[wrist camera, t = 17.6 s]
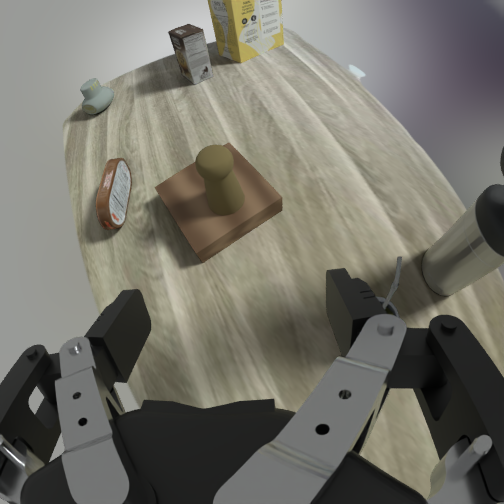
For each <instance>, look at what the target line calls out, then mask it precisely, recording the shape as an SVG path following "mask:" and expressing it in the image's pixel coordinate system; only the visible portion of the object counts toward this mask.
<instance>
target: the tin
mask: <svg viewBox="0 0 504 504" xmlns="http://www.w3.org/2000/svg"><path fill="white" fill-rule="evenodd" d="M131 185H132V179H131V172H130V169H129V167H128V165H127V163H126V161H125V160H124V159H123V158H117V159H110V160H108V162H107V163H106V165H105V169H104V172H103V175H102V179H101V183H100V186H99V190H98V194H97V198H96V212H97V217H98V220H99V222H100V224H101V226H102V227H103V228H104V229H106V230H111V229H117V228H120V227H121V226H122V225H123V224H124V222H125V219H126V213H127V207H128V202H129V197H130V191H131Z"/></svg>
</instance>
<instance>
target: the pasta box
mask: <svg viewBox="0 0 504 504" xmlns="http://www.w3.org/2000/svg"><path fill="white" fill-rule="evenodd" d="M208 4H209V8H210V13H211V18H212V23H213V27H214V32H215V37H216V42H217V46H218V51H219V55H220V56H223V57H226V58H229V59H232V60H234V61H237V62H240V63H243V62H245V61H247V60H249V59H251V58H253V57H255V56H258V55H260V54H262V53H264V52H267V51H269V50H271V49H274V48H276V47H278V46H281V45H283V44H284V40H283V22H282V5H281V0H208Z"/></svg>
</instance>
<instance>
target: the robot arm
mask: <svg viewBox="0 0 504 504" xmlns="http://www.w3.org/2000/svg"><path fill="white" fill-rule="evenodd" d="M500 164H501V171H502V173H503V176H504V147H503V150H502V154H501V162H500ZM502 264H504V185H500V184H495V185H491V186H489V187H488V188H487V189H486V190H484V192H483V193H482V194H481V195H480V196H479V197H478V198H477V200H476V201H475V202H474V203H473V204H472V205H471V206H470V207H469V209H468V210H467V211H466V212H465V213H464V214H463V215H462V216H461V217H460V218H459V219H458V220H457V221H456V223H455V224H454V225H453V226H452V227H451V228H450V229H449V230H448V231H447V232H446V233H445V234H444V235H443V236H442V237H441V238H440V239H439V240H438V241H437V242H436V243H435V244H434V245H433V246H432V247H430V248H429V249H428V250H427V252H426V253H425V255H424V257H423V260H422V272H423V276H424V278H425V281H426V282H427V284H428V286H429V287H430V288H431V289H432V290H433V291H434V292H436V293H438V294H440V295H444V296H448V295H452V294H454V293H456V292H458V291H459V290H461V289H463V288H465V287H467V286H468V285H470V284H472V283H474V282H475V281H477V280H479V279H480V278H482V277H484V276H485V275H487V274H488V273H490V272H492V271H493V270H495V269H496V268H498V267H499V266H501V265H502ZM326 308H327V314H328V318H329V321H330V324H331V326H332V329H333V332H334V335H335V337H336V340H337V343H338V346H339V349H340V352H341V355H342V356H338V357H337V358H336V359H335V361H334V362H333V363H332V365H331V366H330V368H329V369H328V371H327V372H326V374H325V375H324V376H323V378H322V379H321V381H320V382H319V383H318V385H317V386H316V388H315V389H314V390H313V392H312V393H311V394H310V396H309V397H308V398H307V400H306V401H305V402H304V404H303V405H302V406H301V407H300V409H299V410H298V411H297V413H295V412H292V411H289V410H284V409H277V408H275V402H274V399H265V400H251V401H238V402H234V403H230V404H225V405H221V406H216V407H211V408H206V409H202V408H197V407H193V406H189V405H184V404H180V403H177V402H173V401H154V400H144V401H143V404H142V406H141V409H137V410H134V411H130V412H125V410H124V407H123V405H122V403H121V400H120V398H119V395H118V393H117V391H116V389H115V387H114V383H115V382H122V383H127V381H128V379H129V376H130V374H131V372H132V370H133V368H134V365H135V363H136V361H137V359H138V357H139V355H140V352H141V350H142V348H143V346H144V344H145V342H146V340H147V338H148V336H149V334H150V331H151V320H150V316H149V314H148V311H147V308H146V305H145V302H144V299H143V296H142V293H141V291H140V290H139V289H133V290H123V291H122V292H121V293H120V294H119V295H118V297H117V298H116V299H115V301H114V302H113V303H111V304H110V305H109V306H107V307H106V308H105V309H104V311H103V312H102V313H101V316H99V317H98V319H97V321H95V322H94V324H93V325H92V326H91V328H90V329H89V331H88V332H87V333H86V335H85V336H84V337H76V338H73V339H71V340H69V341H67V342H66V343H65V344H64V345H63V346H62V347H61V349H60V351H59V353H55V354H48V352H47V350H46V349H45V347H44V346H43V345H34V346H32V347H30V348H28V349H27V350H25V351H24V352H23V354H22V355H21V356H20V357H19V359H18V360H17V362H16V363H15V364H14V366H13V367H12V368H11V370H10V371H9V373H8V374H7V375H6V377H5V378H4V380H3V381H2V383H1V384H0V498H1V499H3V500H5V501H7V502H8V503H10V504H504V378H503V376H502V374H501V373H500V371H499V370H498V369H497V367H496V366H495V364H494V363H493V361H492V360H491V358H490V357H489V356H488V354H487V353H486V351H485V350H484V349H483V347H482V346H481V345H480V343H479V342H478V341H477V339H476V338H475V337H474V335H473V334H472V333H471V331H470V330H469V329H468V327H467V326H466V325H465V324H464V323H463V321H461V320H460V319H458V318H457V317H454V316H451V315H439V316H436V317H434V318H433V319H432V320H431V321H430V324H429V328H407V327H406V324H405V322H404V321H403V320H402V319H400V318H399V317H397V316H394V315H390V314H387V312H386V311H385V309H384V308H383V306H382V305H381V303H380V302H379V300H378V299H377V297H375V294H374V293H373V291H372V290H371V289H370V287H369V286H368V284H367V283H366V282H364V281H362V280H361V279H359V278H354V279H351V277H350V275H349V274H348V272H347V271H346V269H345V268H340V269H332V270H327V272H326ZM36 386H37V387H38V389H39V390H40V391H41V393H42V394H43V396H44V399H43V401H42V403H41V404H40V406H39V408H38V410H37V412H36V414H34V413H33V412H32V411H31V409H30V408H29V404H28V401H29V397H30V395H31V394H32V392H33V390H34V388H35V387H36ZM391 388H413V390H414V392H415V395H416V397H417V399H418V402H419V404H420V407H421V409H422V412H423V415H424V417H425V420H426V422H427V425H428V428H429V430H430V433H431V436H432V439H433V442H434V444H435V447H436V450H437V453H438V456H439V459H440V461H439V463H438V464H437V465H436V466H435V467H434V469H433V471H432V473H431V478H430V482H431V491H430V494H429V497H428V499H427V500H426V499H425V498H424V497H423V496H422V495H421V494H420V493H418V492H417V491H415V490H414V489H412V488H410V487H409V486H407V485H405V484H404V483H402V482H400V481H399V480H397V479H395V478H394V477H392V476H391V475H389V474H388V473H386V472H384V471H383V470H381V469H380V468H378V467H377V466H375V465H374V464H372V463H371V462H369V461H368V460H366V459H365V458H363V457H362V456H360V454H361V452H362V450H363V448H364V446H365V444H366V442H367V440H368V438H369V436H370V434H371V431H372V429H373V427H374V425H375V423H376V421H377V419H378V417H379V414H380V412H381V410H382V408H383V406H384V404H385V401H386V399H387V397H388V395H389V392H390V390H391ZM61 431H62V437H63V441H64V446H65V451H64V452H63V453H62V455H60V456H59V457H57V458H55V459H54V460H52V461H51V462H49V461H50V458H51V456H52V453H53V451H54V448H55V446H56V443H57V441H58V438H59V436H60V434H61Z"/></svg>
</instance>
